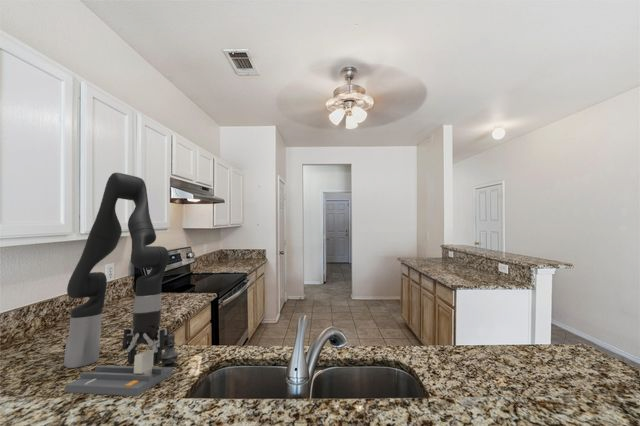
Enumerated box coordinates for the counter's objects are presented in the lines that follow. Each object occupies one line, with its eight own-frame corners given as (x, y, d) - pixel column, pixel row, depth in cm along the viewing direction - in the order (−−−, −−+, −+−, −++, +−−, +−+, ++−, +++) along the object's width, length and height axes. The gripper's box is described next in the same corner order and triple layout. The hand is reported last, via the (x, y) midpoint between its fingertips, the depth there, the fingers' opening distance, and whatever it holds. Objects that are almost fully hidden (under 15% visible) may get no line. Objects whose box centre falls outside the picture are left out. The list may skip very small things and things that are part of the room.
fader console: (65, 392, 79) (66, 379, 79) (109, 371, 93) (110, 360, 93) (137, 396, 75) (138, 382, 76) (172, 373, 89) (172, 362, 89)
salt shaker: (170, 369, 92) (171, 332, 94) (155, 369, 93) (157, 332, 95) (182, 363, 98) (183, 328, 100) (167, 362, 99) (169, 328, 101)
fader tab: (132, 379, 81) (134, 355, 82) (145, 372, 86) (146, 349, 87) (141, 380, 80) (142, 355, 81) (154, 372, 85) (155, 349, 86)
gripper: (117, 312, 83) (113, 368, 81) (158, 311, 81) (155, 369, 79) (137, 307, 91) (134, 358, 88) (175, 306, 89) (173, 359, 86)
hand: (144, 363), depth 84 cm, fingers open, 8 cm apart
